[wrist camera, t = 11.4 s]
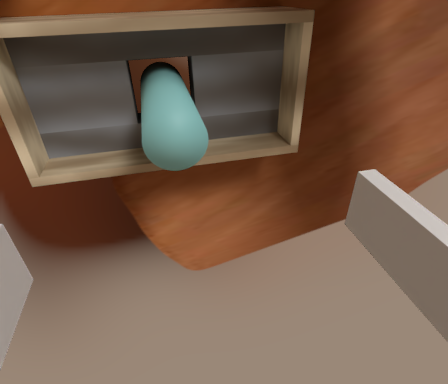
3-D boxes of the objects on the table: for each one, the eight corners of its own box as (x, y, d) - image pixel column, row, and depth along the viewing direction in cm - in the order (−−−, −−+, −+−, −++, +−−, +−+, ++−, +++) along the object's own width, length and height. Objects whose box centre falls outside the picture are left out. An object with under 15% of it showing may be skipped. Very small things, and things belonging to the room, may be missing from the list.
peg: (137, 63, 28) (136, 112, 17) (180, 60, 29) (206, 105, 18) (144, 105, 31) (147, 174, 19) (184, 102, 31) (210, 166, 20)
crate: (-1, 17, 24) (-40, 25, 19) (282, 6, 29) (314, 10, 23) (50, 153, 31) (32, 187, 26) (273, 127, 35) (297, 152, 30)
